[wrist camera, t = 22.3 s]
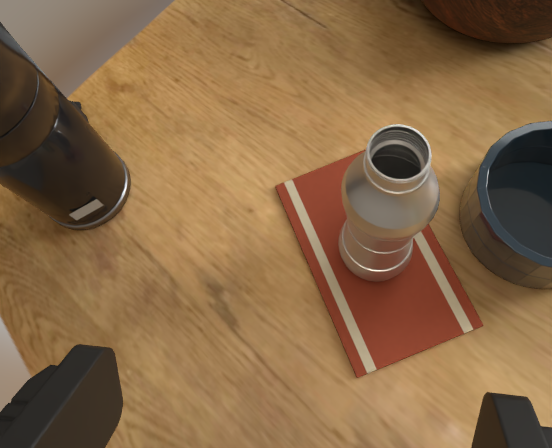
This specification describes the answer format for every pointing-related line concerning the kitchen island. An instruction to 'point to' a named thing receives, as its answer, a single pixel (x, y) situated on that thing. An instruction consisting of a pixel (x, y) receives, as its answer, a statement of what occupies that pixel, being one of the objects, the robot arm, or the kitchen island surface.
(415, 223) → the metal water bottle
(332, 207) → the towel
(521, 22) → the wooden bowl
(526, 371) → the kitchen island surface
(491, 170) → the pot
